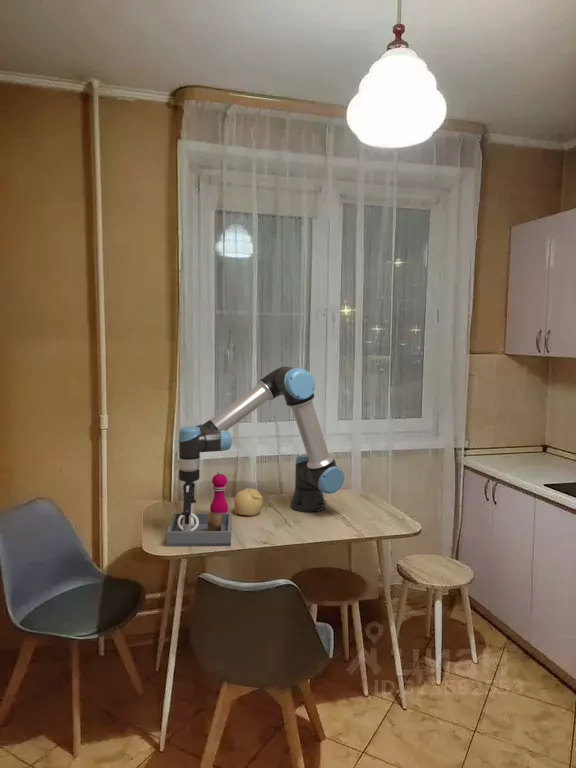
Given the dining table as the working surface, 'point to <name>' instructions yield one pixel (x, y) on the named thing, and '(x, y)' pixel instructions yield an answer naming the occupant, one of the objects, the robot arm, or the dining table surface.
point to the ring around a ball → (191, 522)
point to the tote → (200, 532)
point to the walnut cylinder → (214, 521)
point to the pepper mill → (219, 493)
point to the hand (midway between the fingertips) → (188, 526)
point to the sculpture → (248, 502)
